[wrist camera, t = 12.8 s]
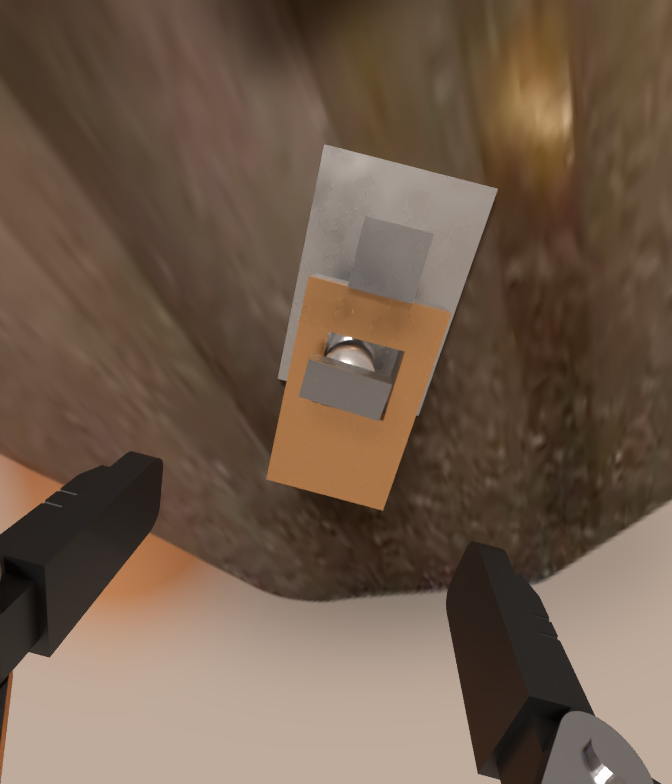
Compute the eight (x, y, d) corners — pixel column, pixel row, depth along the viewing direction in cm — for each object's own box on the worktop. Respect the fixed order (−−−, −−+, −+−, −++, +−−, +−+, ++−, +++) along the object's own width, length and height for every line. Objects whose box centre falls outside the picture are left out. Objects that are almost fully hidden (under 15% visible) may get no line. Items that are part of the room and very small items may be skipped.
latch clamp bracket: (325, 147, 31) (296, 88, 20) (494, 190, 31) (560, 155, 20) (273, 411, 40) (231, 474, 28) (405, 446, 40) (416, 523, 28)
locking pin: (333, 314, 35) (311, 349, 22) (386, 330, 35) (395, 375, 22) (322, 351, 36) (296, 405, 23) (373, 367, 36) (375, 429, 23)
